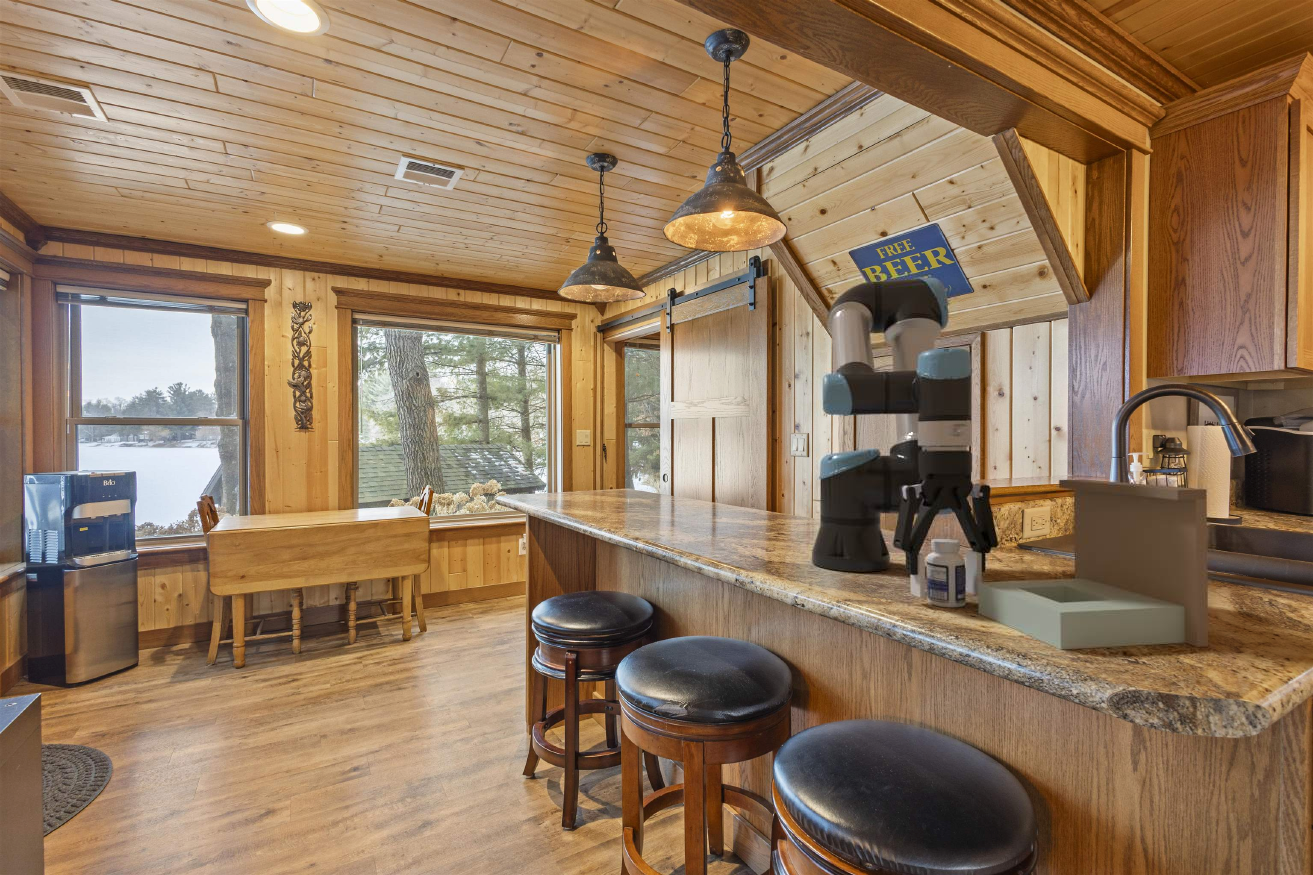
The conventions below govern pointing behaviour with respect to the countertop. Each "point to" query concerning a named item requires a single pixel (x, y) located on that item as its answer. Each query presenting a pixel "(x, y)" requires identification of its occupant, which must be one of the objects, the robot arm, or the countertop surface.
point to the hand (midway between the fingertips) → (945, 594)
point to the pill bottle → (946, 574)
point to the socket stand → (1118, 572)
